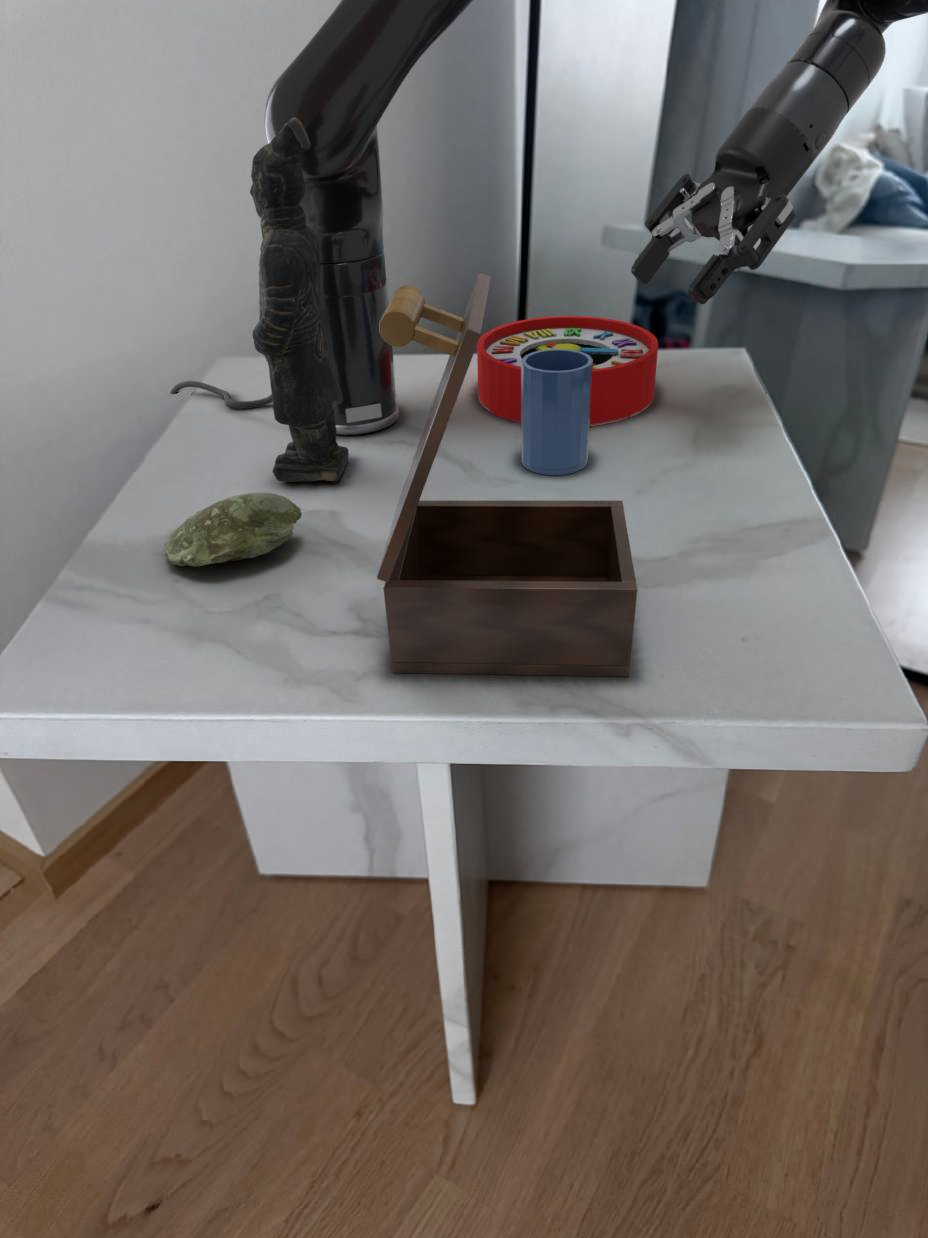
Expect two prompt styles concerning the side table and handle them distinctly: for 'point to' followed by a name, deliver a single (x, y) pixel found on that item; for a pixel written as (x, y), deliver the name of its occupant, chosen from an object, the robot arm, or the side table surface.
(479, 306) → the dish box lid
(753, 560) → the side table surface
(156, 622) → the side table surface
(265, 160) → the statue
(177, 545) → the green rounded rock
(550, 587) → the box
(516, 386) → the toy clock
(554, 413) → the cup
